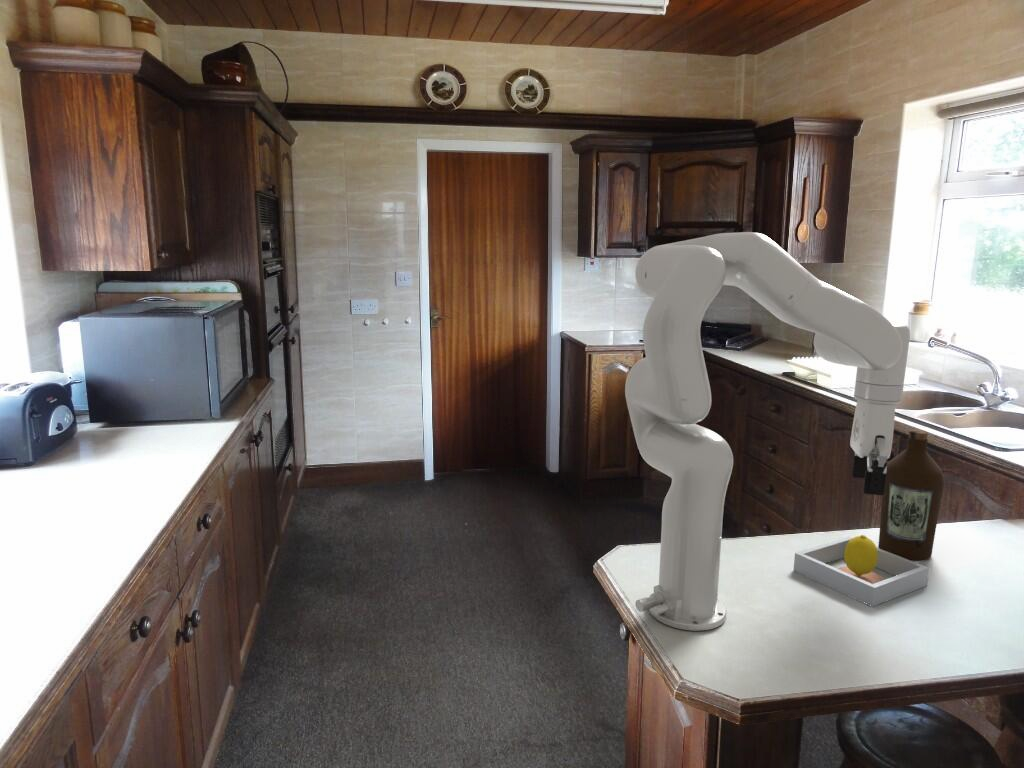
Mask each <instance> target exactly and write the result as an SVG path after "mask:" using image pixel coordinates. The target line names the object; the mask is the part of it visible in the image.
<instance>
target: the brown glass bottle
mask: <svg viewBox="0 0 1024 768" xmlns="http://www.w3.org/2000/svg"><path fill="white" fill-rule="evenodd" d="M908 434H909V436H908V437H907V443H906V445H907V446H906V449H904V450H903V451H902V452H900V453H899V454H897V455H896V456H895V457H893V458H892V459H891V460H890V461H888V462H887V472H886V481H885V489H884V494H883V495H881V504H880V505H881V506H880V520H879V535H878V548H879V549H882V550H884V551H887V552H889V553H892V554H895V555H897V556H900V557H902V558H905V559H908V560H910V561H913V562H916V561H917V562H923V561H927V560H929V559H930V558H932V554H933V549H934V544H935V543H934V541H935V537H936V536H935V535H936V530H937V524H938V521H939V519H938V518H939V513H940V507H941V504H942V498H943V494H944V488H945V477H944V473H943V471H942V469H941V467H940V466H939V465H938V463H937V462H936V461H935V460H934V459H933V457H931V456H930V454H929V453H928V451H927V447H928V441H929V440H928V435H929V433H928V432H927V431H926V430H923V429H910V430H909V431H908Z"/></svg>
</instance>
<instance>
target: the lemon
mask: <svg viewBox="0 0 1024 768" xmlns="http://www.w3.org/2000/svg"><path fill="white" fill-rule="evenodd" d="M851 538H852V539H851V540H850V541H849V542H848V543H847V545H846V548H845V552H844V562H845V565H846V567H848V568H849V569H850V570H851V571H852V572H854V573H855V574H856V575H857V576H861V575H863V574H868V573H870V572H872V571H873V572H874V570H875V568H876V564H877V561H878V552H877V548H878V547H877V546H876V544H875V542H874V541H873V540H872V539H871V538H869V537H868V536H866V535H864V534H861V535H858V536H854V537H851ZM876 547H877V548H876Z"/></svg>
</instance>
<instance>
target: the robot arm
mask: <svg viewBox="0 0 1024 768" xmlns="http://www.w3.org/2000/svg"><path fill="white" fill-rule="evenodd" d="M634 271H635V275H634V276H635V277H634V278H635V280H636V283H637V285H638V288H639V289H640V290H641V291H642V292H643V293H644V294H645V295H647V296H648V297H650V298H654V299H653V300H652V302H651V304H650V306H649V308H648V310H647V312H646V315H645V318H644V321H643V326H642V341H643V342H642V343H643V347H644V355H645V357H643V358H640V359H639V360H638V361H636V362H635V363H634V364H633V366H632V367H631V368H630V369H629V371H628V374H627V375H626V380H625V384H624V385H625V387H624V395H625V396H624V397H625V400H626V401H625V402H626V406H627V410H628V413H629V417H630V422H631V427H632V431H633V434H634V438H635V442H636V446H637V449H638V450H639V451H638V452H639V454H640V455H641V457H642V459H643V460H644V461H645V462H646V463H647V465H649V466H651V467H652V468H653V469H655V470H656V471H658V472H660V473H663V474H665V475H666V476H668V477H670V479H671V485H670V487H669V489H668V492H667V493H666V496H665V497H664V499H663V505H662V510H661V532H660V533H661V535H660V550H659V551H660V555H659V573H658V574H659V575H658V584H657V585H653V593H651V594H650V595H649V596H648V597H643V598H639V599H637V600H636V601H635V603H634V605H635V608H636V611H638V612H639V613H641V612H642V613H643V612H646V611H649V613H650V614H651V615H652V617H653V618H655V619H656V620H657V621H659V622H661V623H662V624H664V625H666V626H669V627H672V628H675V629H680V630H684V631H690V632H691V631H695V632H698V631H708V630H709V631H710V630H714V629H717V628H718V627H720V626H721V625H723V624H724V622H725V621H726V619H727V608H726V606H725V604H724V603H723V602H721V601H720V599H718V594H719V592H718V591H719V582H720V581H719V579H720V565H721V563H720V562H721V551H722V535H723V534H722V533H723V518H724V506H725V501H726V499H725V498H726V493H727V490H728V485H729V482H730V480H731V475H732V471H733V466H734V455H733V452H732V451H733V450H732V449H731V447H730V445H729V443H728V442H727V441H726V439H725V438H723V437H722V436H721V435H720V434H718V433H717V432H715V431H713V430H711V429H709V428H707V427H704V426H701V425H699V424H697V423H699V422H702V421H703V420H704V419H705V418H706V417H707V416H708V415H709V412H710V409H711V407H712V391H711V385H710V380H709V375H708V369H707V367H706V366H707V365H706V362H705V361H706V360H705V357H704V352H703V346H702V338H701V326H702V321H703V319H704V316H705V313H706V311H707V309H708V308H709V306H710V304H712V302H713V301H714V300H715V298H716V297H717V295H718V294H719V293H720V291H721V289H722V288H723V286H732V287H737V288H739V289H741V290H742V291H743V292H744V293H746V294H747V295H748V296H749V297H751V298H752V299H753V300H754V301H756V302H757V303H758V304H759V305H760V306H762V307H763V308H765V309H766V310H767V311H768V312H769V313H771V314H772V315H773V316H774V317H775V318H776V319H778V320H779V321H781V322H783V323H786V324H788V325H790V326H792V327H796V328H798V329H800V330H805V331H808V332H812V333H815V335H814V336H813V346H814V349H815V351H816V353H817V355H818V356H819V357H821V358H822V359H823V360H824V361H827V362H830V363H832V364H837V365H838V364H839V365H844V366H849V367H850V366H851V367H856V375H855V376H856V377H855V382H854V383H855V384H854V390H853V391H854V393H853V394H854V396H853V399H854V400H855V401H856V405H855V409H854V416H853V421H852V427H851V433H850V439H849V440H850V442H849V445H850V448H851V449H852V450H853V452H854V456H853V461H852V462H853V464H852V471H851V476H852V477H853V478H857V479H864V480H863V487H862V488H863V489H862V492H863V493H864V494H865V495H873V496H874V495H875V496H882V495H883V494H884V489H885V481H886V472H887V464H888V462H887V460H888V459H889V458H891V453H892V448H893V441H894V440H893V439H894V430H895V429H894V428H895V417H896V405H901V404H902V401H903V400H902V399H903V394H904V393H903V392H904V384H905V378H906V377H905V376H906V370H907V362H908V353H909V348H910V347H909V346H910V338H911V337H910V335H911V330H910V327H909V326H908V325H907V324H904V323H901V322H895V321H894V322H893V321H889V320H888V319H887V318H886V317H885V316H884V315H883V314H881V313H880V312H879V311H878V310H877V309H875V308H874V307H872V306H871V305H869V304H867V303H866V302H864V301H862V300H860V299H858V298H857V297H854V296H853V295H850V294H848V293H846V292H845V291H842V290H840V289H839V288H836V287H835V286H833V285H831V284H828V283H826V282H824V281H823V280H820V279H818V277H816V276H815V275H813V274H812V273H811V272H810V271H809V270H807V269H806V268H805V267H804V266H803V265H801V264H800V263H799V261H797V260H796V259H794V257H793V256H791V255H790V254H789V253H788V252H787V251H786V250H785V249H783V248H782V247H781V246H780V245H779V244H778V243H776V242H775V241H774V240H772V239H771V238H770V237H768V236H767V235H765V234H764V233H759V232H753V231H752V232H751V231H742V232H724V233H723V232H722V233H715V234H711V235H710V234H709V235H706V236H701V237H696V238H691V239H686V240H681V241H676V242H671V243H670V242H669V243H665V244H660V245H655V246H653V247H651V248H649V249H647V250H646V251H645V252H643V254H642V255H641V256H640V257H639V259H638V261H637V263H636V266H635V270H634Z"/></svg>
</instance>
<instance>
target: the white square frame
mask: <svg viewBox="0 0 1024 768" xmlns="http://www.w3.org/2000/svg"><path fill="white" fill-rule="evenodd" d="M852 538H853V537H850V536H847V537H844V538H840V539H837V540H833V541H831V542H827V543H824V544H820V545H818V546H814V547H810V548H807V549H804V550H800V551H797V552H795V553H794V559H793V561H794V562H793V572H797V573H798V572H799V573H798V574H800V573H801V575H802V574H803V575H802V576H805V577H807V576H808V577H807V578H809V577H810V578H809V579H811V578H812V579H811V580H813V579H814V580H813V581H815V580H816V581H815V582H817V581H818V583H820V584H822V583H823V584H822V585H824V586H826V585H827V586H826V587H828V586H829V587H828V588H830V587H831V588H830V589H833V588H834V589H833V590H835V591H837V590H838V591H837V592H839V591H840V592H839V593H841V592H842V594H843V593H844V594H843V595H845V594H846V595H845V596H848V595H849V596H848V597H850V596H851V597H850V598H852V597H853V598H852V599H854V598H856V599H857V600H856V599H855V600H856V601H858V600H860V601H863V602H865V603H867V604H868V605H867V604H866V605H867V606H869V605H871V606H874V607H875V605H876V606H878V605H877V604H879V605H881V604H880V603H882V602H884V603H886V602H885V601H887V600H889V601H891V600H890V599H892V600H894V599H896V598H895V597H897V598H899V597H898V596H900V595H902V596H904V595H903V594H905V595H907V594H909V592H910V593H912V592H911V591H913V592H915V591H917V589H918V590H920V589H922V587H923V588H925V587H927V586H928V580H929V574H930V573H929V572H930V567H928V566H925V565H924V564H920V563H919V562H916V561H911V560H908V559H905V558H902V557H900V556H897V555H895V554H892V553H889V552H887V551H884V550H882V549H880V548H879V547H877V546H876V548H877V552H878V561H877V564H876V567H877V569H878V568H879V570H881V571H883V570H884V571H883V572H886V571H887V572H886V573H888V572H889V573H888V574H891V573H892V574H891V575H893V574H894V575H893V576H891V577H889V578H885V579H884V578H883V577H882V576H881V575H880V574H878V573H877V572H875V571H874V570H873V571H872V572H870V573H868V574H863V575H861V576H857V575H856V574H855V573H854V572H852V571H851V570H850V569H849V568H848V567H847V566H840V567H837V568H836V567H834V566H832V565H830V564H828V563H827V562H829V563H831V561H832V562H834V560H835V561H838V560H841V559H843V558H844V552H845V548H846V545H847V543H848V542H849V541H850V540H851V539H852ZM825 563H826V564H825ZM876 567H875V568H876ZM895 575H897V576H895ZM914 590H915V591H914ZM906 593H907V594H906ZM900 597H901V596H900ZM893 598H894V599H893ZM860 601H859V602H860ZM863 602H862V603H863ZM887 602H888V601H887ZM865 603H864V604H865ZM882 604H883V603H882ZM871 606H870V607H871Z"/></svg>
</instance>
